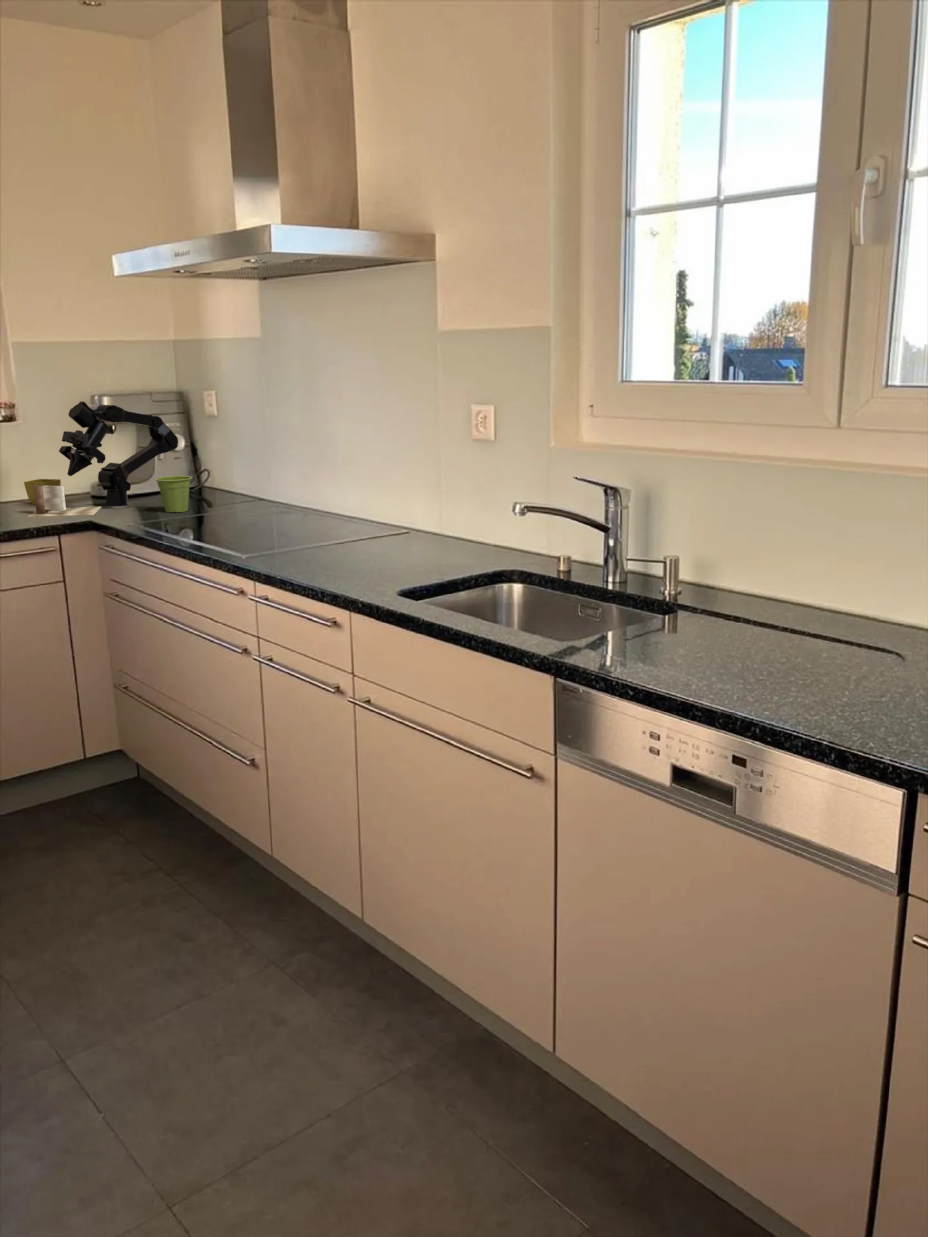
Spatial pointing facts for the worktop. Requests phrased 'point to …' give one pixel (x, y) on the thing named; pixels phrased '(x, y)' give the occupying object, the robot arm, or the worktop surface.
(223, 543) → the worktop surface
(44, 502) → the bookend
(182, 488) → the plant pot
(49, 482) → the flower pot
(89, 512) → the board
